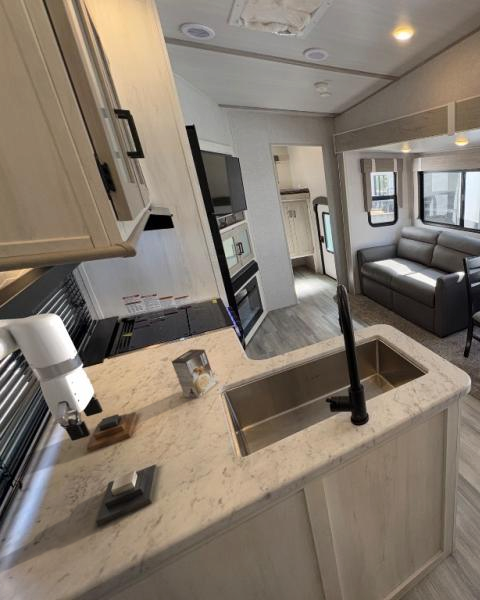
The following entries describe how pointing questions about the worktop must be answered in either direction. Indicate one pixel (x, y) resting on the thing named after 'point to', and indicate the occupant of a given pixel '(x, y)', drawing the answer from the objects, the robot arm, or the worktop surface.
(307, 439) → the worktop surface
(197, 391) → the coffee box
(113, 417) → the black key
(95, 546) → the worktop surface
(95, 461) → the worktop surface
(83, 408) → the robot arm
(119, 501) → the black stepped pedestal
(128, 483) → the white key
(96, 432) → the brown stepped pedestal
